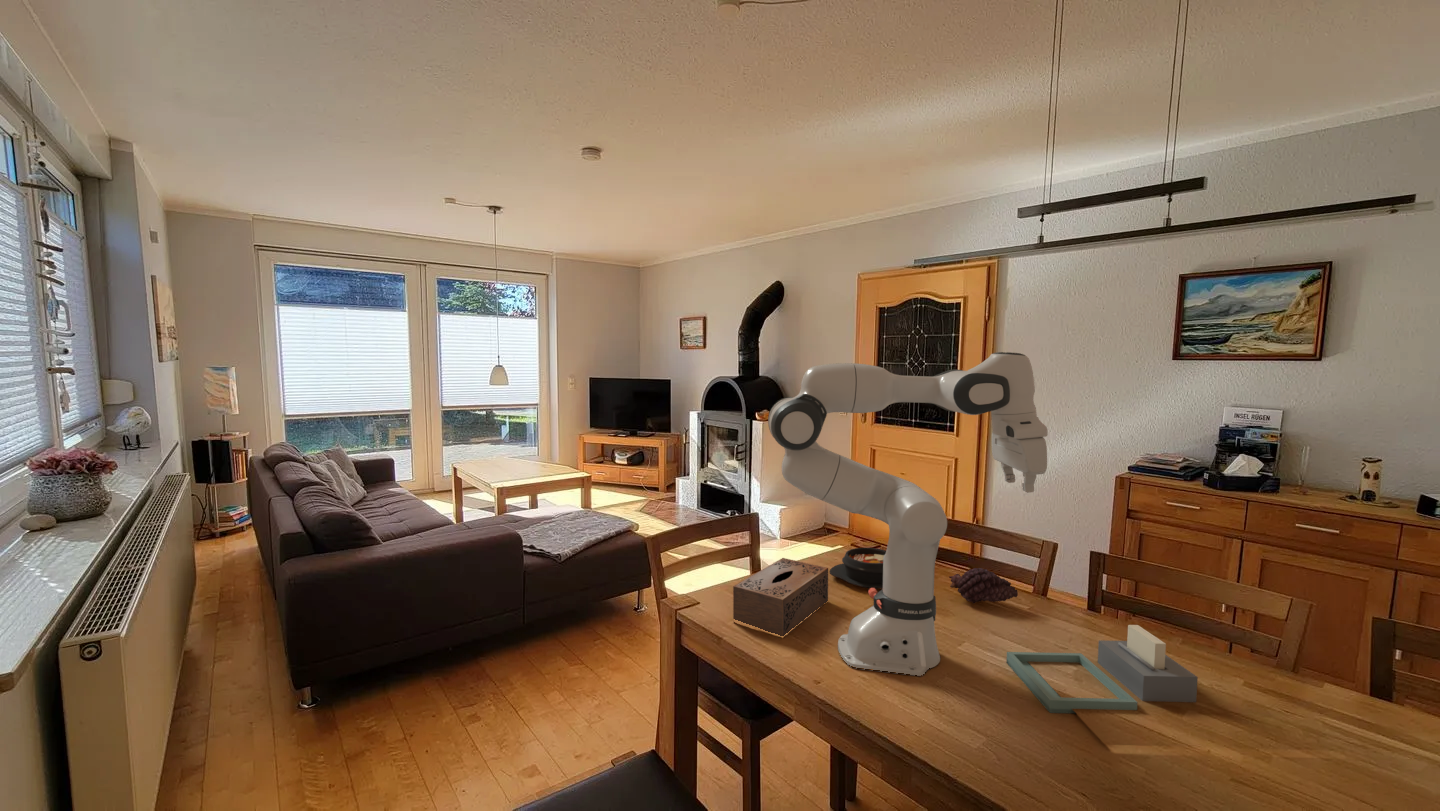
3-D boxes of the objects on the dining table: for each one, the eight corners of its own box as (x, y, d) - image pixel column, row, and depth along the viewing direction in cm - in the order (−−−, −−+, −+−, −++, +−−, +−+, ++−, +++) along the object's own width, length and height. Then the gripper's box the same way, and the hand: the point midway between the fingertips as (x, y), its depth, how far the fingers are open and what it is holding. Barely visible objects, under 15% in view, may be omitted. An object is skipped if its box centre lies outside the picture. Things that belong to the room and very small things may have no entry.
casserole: (819, 583, 171) (820, 556, 170) (842, 564, 186) (842, 540, 186) (903, 602, 157) (903, 572, 157) (920, 580, 173) (920, 553, 172)
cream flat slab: (1152, 692, 112) (1155, 643, 111) (1125, 670, 120) (1128, 624, 119) (1163, 692, 112) (1165, 643, 111) (1135, 670, 120) (1137, 625, 119)
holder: (1142, 705, 109) (1143, 672, 109) (1097, 666, 123) (1098, 637, 123) (1195, 706, 109) (1197, 673, 108) (1144, 667, 123) (1146, 638, 122)
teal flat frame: (1049, 712, 107) (1050, 700, 107) (1006, 662, 125) (1006, 651, 125) (1136, 714, 106) (1137, 702, 106) (1080, 664, 124) (1081, 653, 124)
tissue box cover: (782, 590, 166) (782, 557, 165) (827, 602, 158) (828, 568, 157) (733, 624, 145) (733, 586, 144) (782, 639, 137) (782, 599, 136)
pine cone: (1019, 605, 155) (1020, 569, 154) (1014, 618, 147) (1015, 581, 146) (951, 590, 165) (951, 557, 164) (943, 602, 156) (944, 567, 156)
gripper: (982, 421, 135) (986, 478, 136) (1018, 432, 114) (1023, 499, 115) (1009, 418, 134) (1014, 475, 135) (1051, 429, 114) (1056, 496, 115)
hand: (1019, 486), depth 125 cm, fingers open, 8 cm apart
